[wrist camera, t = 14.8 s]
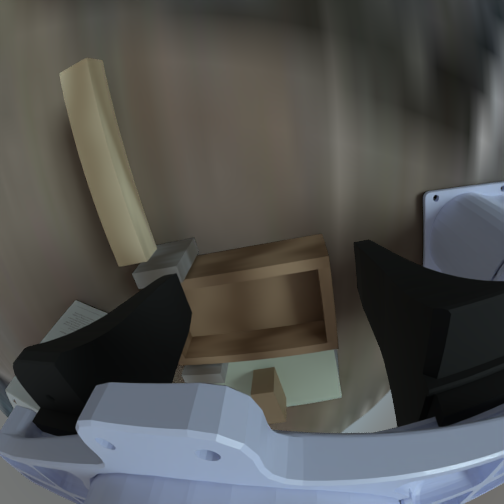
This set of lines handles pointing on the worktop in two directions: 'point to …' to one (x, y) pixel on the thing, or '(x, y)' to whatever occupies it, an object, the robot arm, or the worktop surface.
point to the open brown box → (249, 302)
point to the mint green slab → (286, 381)
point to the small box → (68, 323)
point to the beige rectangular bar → (106, 162)
